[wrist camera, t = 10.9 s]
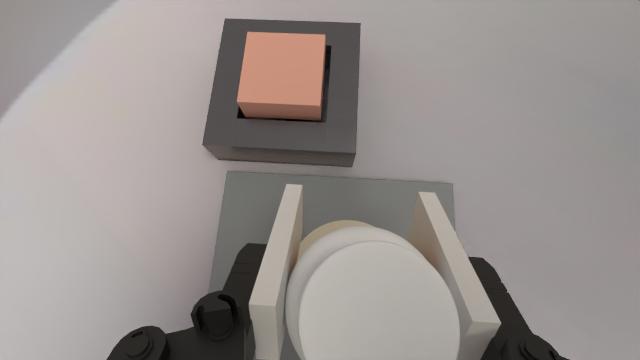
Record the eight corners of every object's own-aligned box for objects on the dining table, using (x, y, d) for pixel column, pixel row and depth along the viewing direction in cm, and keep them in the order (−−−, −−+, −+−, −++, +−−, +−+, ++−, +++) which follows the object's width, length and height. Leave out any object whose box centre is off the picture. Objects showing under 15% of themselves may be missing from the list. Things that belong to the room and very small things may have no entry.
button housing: (356, 51, 24) (360, 23, 21) (352, 166, 22) (355, 153, 19) (237, 46, 25) (224, 18, 22) (218, 159, 22) (202, 144, 19)
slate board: (449, 185, 21) (453, 183, 21) (459, 412, 18) (465, 418, 17) (229, 173, 22) (226, 170, 21) (197, 389, 18) (192, 394, 18)
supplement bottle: (369, 222, 17) (419, 179, 8) (415, 311, 16) (539, 385, 7) (286, 262, 17) (235, 266, 8) (326, 358, 16) (326, 506, 6)
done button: (325, 54, 21) (325, 34, 19) (321, 120, 20) (320, 105, 18) (254, 52, 22) (247, 31, 20) (245, 116, 20) (236, 101, 18)
